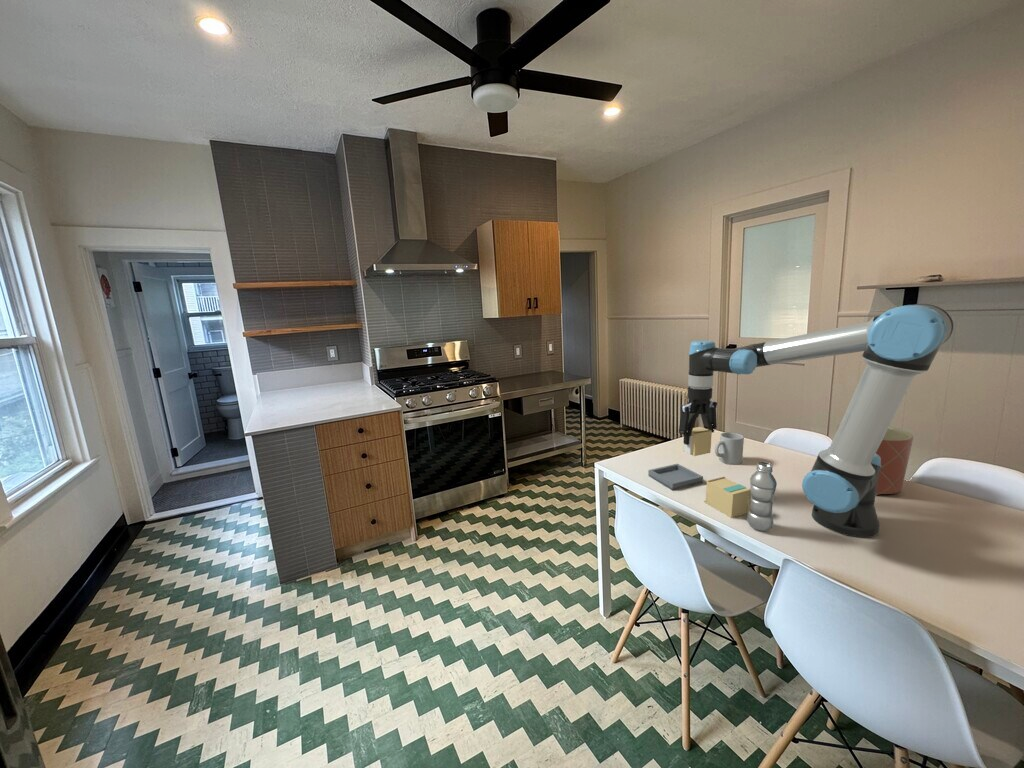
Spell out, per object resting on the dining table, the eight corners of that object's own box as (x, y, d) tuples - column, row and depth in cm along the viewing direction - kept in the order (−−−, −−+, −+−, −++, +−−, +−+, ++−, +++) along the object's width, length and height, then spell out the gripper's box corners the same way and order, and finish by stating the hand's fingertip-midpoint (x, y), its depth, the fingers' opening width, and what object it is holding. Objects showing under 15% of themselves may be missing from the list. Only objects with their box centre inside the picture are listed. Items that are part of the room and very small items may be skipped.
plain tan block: (710, 452, 134) (711, 430, 132) (694, 456, 131) (695, 433, 130) (699, 447, 138) (700, 426, 136) (683, 451, 136) (684, 429, 134)
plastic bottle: (760, 535, 110) (766, 470, 106) (741, 523, 117) (746, 461, 113) (778, 531, 112) (785, 467, 108) (758, 519, 118) (763, 458, 114)
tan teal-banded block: (748, 512, 122) (750, 489, 120) (731, 517, 120) (733, 493, 118) (719, 497, 132) (721, 475, 130) (703, 502, 130) (705, 479, 128)
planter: (855, 469, 147) (862, 419, 143) (918, 492, 129) (928, 435, 125) (817, 477, 143) (823, 426, 139) (876, 502, 125) (886, 443, 120)
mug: (730, 455, 166) (731, 431, 164) (747, 462, 158) (749, 437, 156) (707, 459, 163) (708, 435, 160) (723, 467, 155) (725, 441, 152)
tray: (702, 482, 143) (703, 476, 143) (672, 490, 139) (672, 483, 138) (677, 469, 155) (677, 463, 155) (648, 475, 151) (648, 470, 150)
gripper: (713, 381, 137) (710, 442, 141) (668, 388, 130) (666, 452, 135) (732, 385, 130) (727, 449, 134) (684, 392, 123) (682, 459, 128)
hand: (696, 450), depth 135 cm, fingers closed on plain tan block, 7 cm apart
